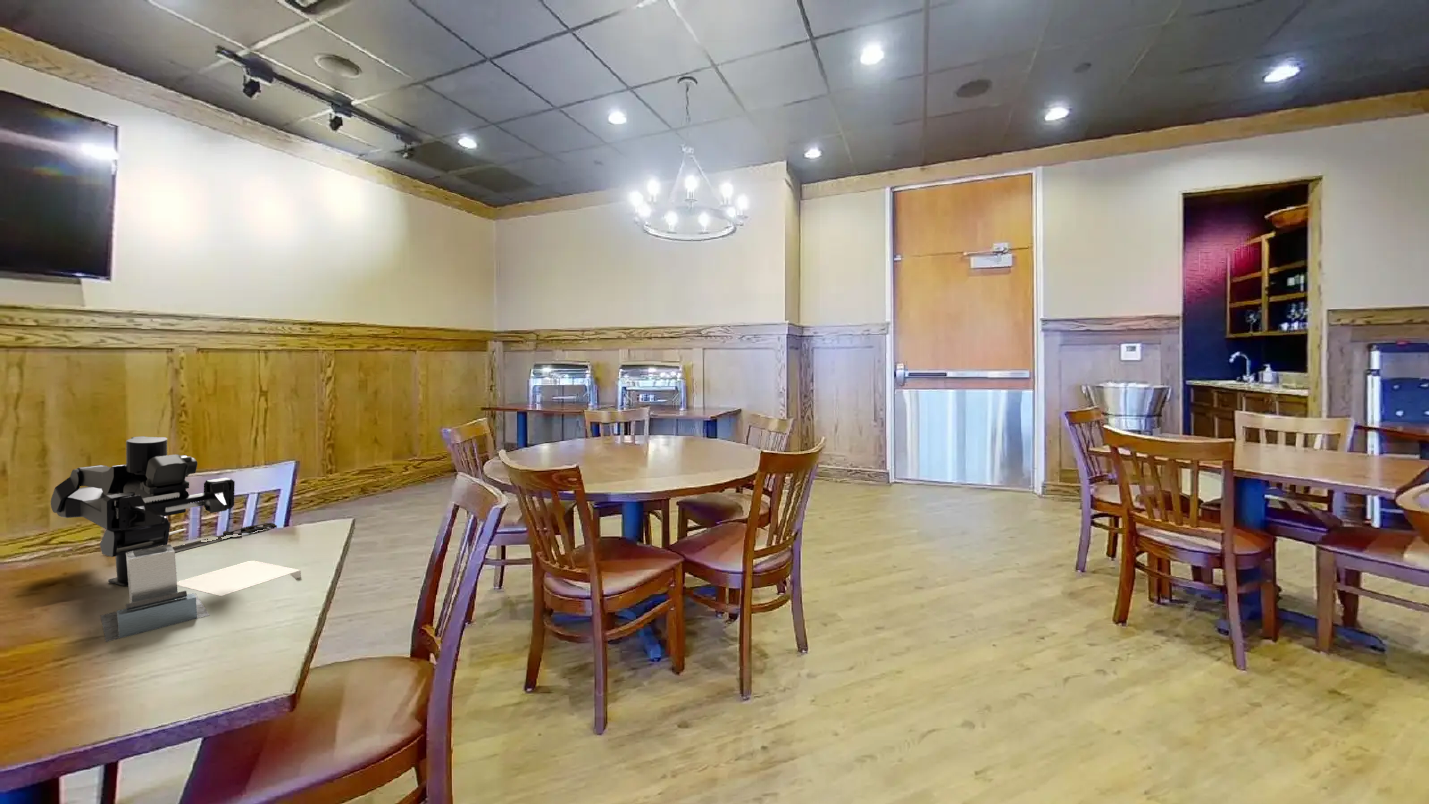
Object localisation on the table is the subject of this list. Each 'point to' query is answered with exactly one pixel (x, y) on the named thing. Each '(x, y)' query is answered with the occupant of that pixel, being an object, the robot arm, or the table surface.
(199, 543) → the knife
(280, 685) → the table surface
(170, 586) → the square hollow tube
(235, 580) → the cutting board
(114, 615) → the grey piece
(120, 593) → the table surface
